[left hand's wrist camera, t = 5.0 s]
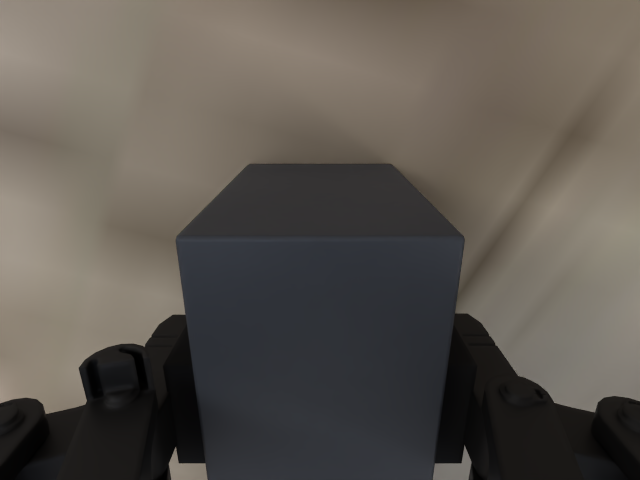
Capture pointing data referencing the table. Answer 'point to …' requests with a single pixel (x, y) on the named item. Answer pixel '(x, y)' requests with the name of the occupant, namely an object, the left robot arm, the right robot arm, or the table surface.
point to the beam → (320, 323)
